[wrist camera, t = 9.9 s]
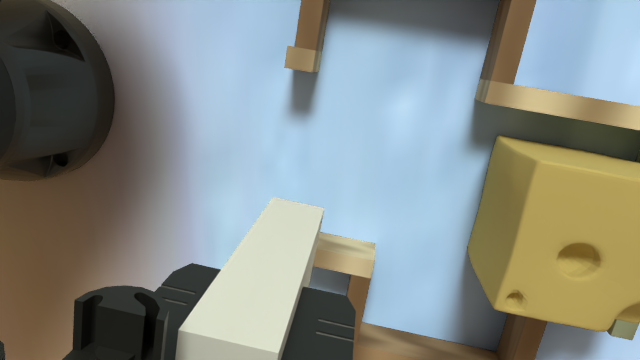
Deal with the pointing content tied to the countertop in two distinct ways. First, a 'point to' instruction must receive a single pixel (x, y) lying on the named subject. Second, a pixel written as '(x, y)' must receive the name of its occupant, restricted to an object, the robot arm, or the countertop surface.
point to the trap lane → (494, 88)
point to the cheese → (559, 235)
